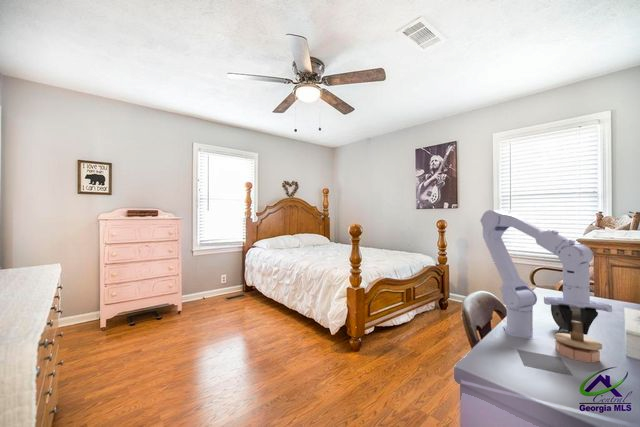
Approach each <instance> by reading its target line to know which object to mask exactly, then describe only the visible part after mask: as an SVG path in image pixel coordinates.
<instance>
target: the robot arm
mask: <svg viewBox="0 0 640 427" xmlns="http://www.w3.org/2000/svg"><path fill="white" fill-rule="evenodd" d="M479 222H480V223H481V226H482V238H483V240H484V242H485V244H486V248H487V249H488V252H489V254H490V256H491V258H492V261H493V262H494V265H495V268H496V269H497V271H498V274H499V277H500V278H501V280H502V283H501V285H500V292H501V299H502V302H503V304H504V305H505V308H506V324H503V329H504V331H505V332H506V335H508V336H511V337H512V336H513V337H519V338H524V339H530V340H535V341H536V340H537V337H536V336H535V335H534V333H533V331H534V330H533V324H534V323H533V318H534V316H533V312H534V311H533V308H534V306H535V305H536V304H537V301H538V296H537V294H536V293H535V291H534V290H533V289H531V286H529V284H528V282H526V281H524V280H523V279H522V278H521V276H520V275H519V272H518V270H517V269H516V266H515V263H514V262H513V260H512V257H511V256H510V253H509V251H508V249H507V247H506V245H505V242H504V241H503V238H502V236H503V234H504V233H505V232H506V231H507V230H508V229H509V228H510V227H512V228H514V229H515V230H518V231H519V232H521V233H524V234H525V235H527V236H529V237H531V238H534V239H535V242H536V244H537V245H538V246H540V247H541V248H543V249H545V250H547V251H548V252H550V253H552V254H554V255H555V256H557V257H558V259H559V261H560V262H561V263H562V288H563V292H562V297H561V296H560V297H559V296H543V303H544V304H545V305H548V306H551V305H557V308H558V309H559V311H560V313H561V315H562V317H563V320H564V322H565V326H566V330H565V331H567V332H568V333H570V332H571V333H572V324H571V319H572V312H573V311H571V310H570V308H569V307H577V308H580V312H581V322H582V323H583V331H584V336H585V335H586V336H588V333H589V330H590V327H591V326H592V323H593V322H594V321H595V319H596V318H597V317H598V315H599V312H598V311H604V312H608V313H612V312H613V305H612V304H610V303H606V302H600V301H594V300H590V299H591V295H590V294H591V292H590V290H591V289H590V287H591V285H590V284H591V283H590V280H591V279H590V278H591V277H590V262H591V261H592V260H594V252H593V251H592V249H591V248H590V247H588V246H587V245H586V244H583V243H576V241H575V240H573V239H568V238H566V237H564V236H563V235H561V234H559V231H557V230H555V229H554V230H551V229H545V230H542V229H540V227H537V226H536V225H535V224H532V223H531V222H529V221H528V220H526V219H524V218H522V217H521V216H519V215H518V214H516V213H514V212H512V211H510V210H507V209H506V210H504V209H503V210H493V209H489V210H486V211H485V212H484V213H482V216H481V218H480V220H479Z"/></svg>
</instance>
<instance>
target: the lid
mask: <svg viewBox="0 0 640 427" xmlns="http://www.w3.org/2000/svg"><path fill="white" fill-rule="evenodd" d="M571 324H572V333H571V332H569V333H566V332H565V333H563V332H562V333H560V332H559V333H554V336H553V337H554V339H555V340H557V341H559V342H561V343H564V344H567V345H570V346H574V347H578V348H583V349H589V350H599V351H600V350H602V349H603V344H602V343H601V342H599V341H597V340H596V339H595V340H594V339H592V338H589V337H586V336H585V334H584V331H583V323H582V322H579V321H571Z"/></svg>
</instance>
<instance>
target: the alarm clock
mask: <svg viewBox="0 0 640 427" xmlns="http://www.w3.org/2000/svg"><path fill="white" fill-rule="evenodd" d="M561 290H562V291H561V292H562V293H563V287H562V289H561ZM569 308H570V310H571V311H573V312H572V319H571V321H579V322H581V312H580V308H577V307H569ZM550 312H551V316H552V319H553V321H554V322H555V324H556V325H557V327H558V332H560V331H561V330H563V331H567V330H566V326H565V322H564V320H563V317H562V315H561V313H560V311H559V309H558V308H557V305H551V304H550Z"/></svg>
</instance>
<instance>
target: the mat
mask: <svg viewBox="0 0 640 427" xmlns="http://www.w3.org/2000/svg"><path fill="white" fill-rule="evenodd" d="M516 350H517V353H518V355H519V357H520V359H521V361H522V364H523V366H524V367H529V368H533V369H538V370H544V371H548V372H552V373H557V374H561V375H562V374H563V375H565V376H566V375H567V376H572V377H574V375H573V374H572V372H571V370H570V369H569V368H568V367H567V365H566V364H565V362H564V361H563V359H562V358H561V357H559V356H555V355H551V354H544V353H538V352H533V351H528V350H523V349H519V348H518V349H516Z"/></svg>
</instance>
